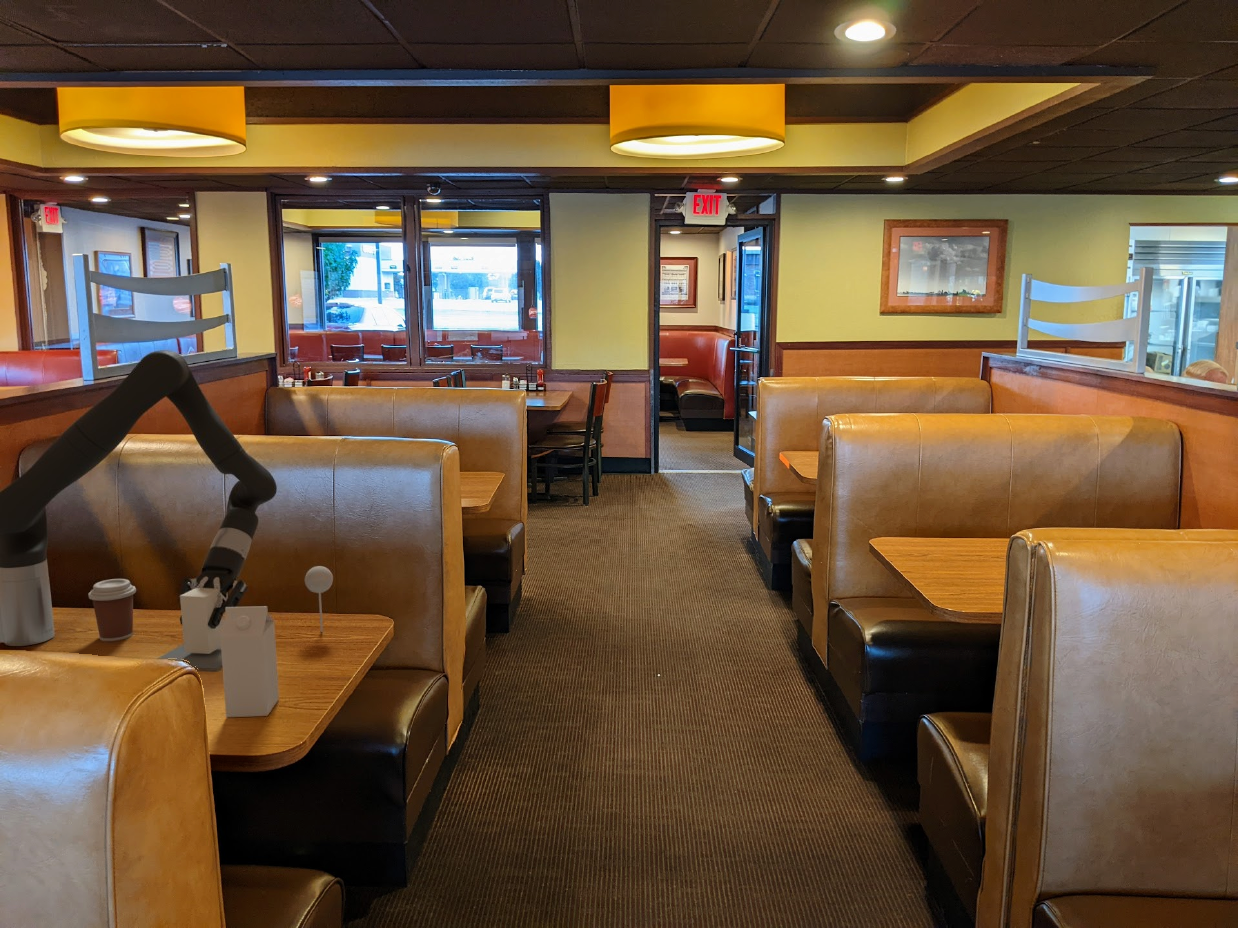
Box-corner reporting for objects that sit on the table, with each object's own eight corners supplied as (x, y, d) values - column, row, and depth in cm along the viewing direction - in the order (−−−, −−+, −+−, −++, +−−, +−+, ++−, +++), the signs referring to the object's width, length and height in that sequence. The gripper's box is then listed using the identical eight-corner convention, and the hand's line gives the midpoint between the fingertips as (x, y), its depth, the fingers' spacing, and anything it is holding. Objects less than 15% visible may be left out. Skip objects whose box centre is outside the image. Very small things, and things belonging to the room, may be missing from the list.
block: (184, 652, 185) (179, 595, 183) (201, 642, 191) (196, 587, 189) (209, 653, 184) (204, 597, 182) (225, 644, 190) (220, 588, 188)
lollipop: (326, 637, 198) (323, 571, 195) (302, 635, 199) (298, 569, 197) (340, 628, 204) (337, 563, 201) (317, 626, 205) (313, 561, 202)
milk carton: (239, 700, 166) (232, 601, 162) (279, 699, 166) (273, 600, 163) (226, 718, 159) (218, 614, 155) (267, 716, 159) (261, 612, 156)
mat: (148, 666, 181) (148, 663, 181) (194, 640, 196) (194, 637, 196) (217, 671, 179) (216, 668, 179) (258, 644, 194) (258, 641, 194)
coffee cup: (147, 628, 203) (143, 577, 201) (127, 643, 194) (122, 589, 192) (106, 628, 203) (101, 577, 201) (83, 643, 194) (78, 589, 192)
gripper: (188, 543, 192) (156, 615, 183) (250, 546, 190) (221, 619, 181) (205, 561, 199) (175, 631, 189) (266, 564, 196) (238, 636, 187)
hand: (197, 625), depth 185 cm, fingers closed on block, 5 cm apart
